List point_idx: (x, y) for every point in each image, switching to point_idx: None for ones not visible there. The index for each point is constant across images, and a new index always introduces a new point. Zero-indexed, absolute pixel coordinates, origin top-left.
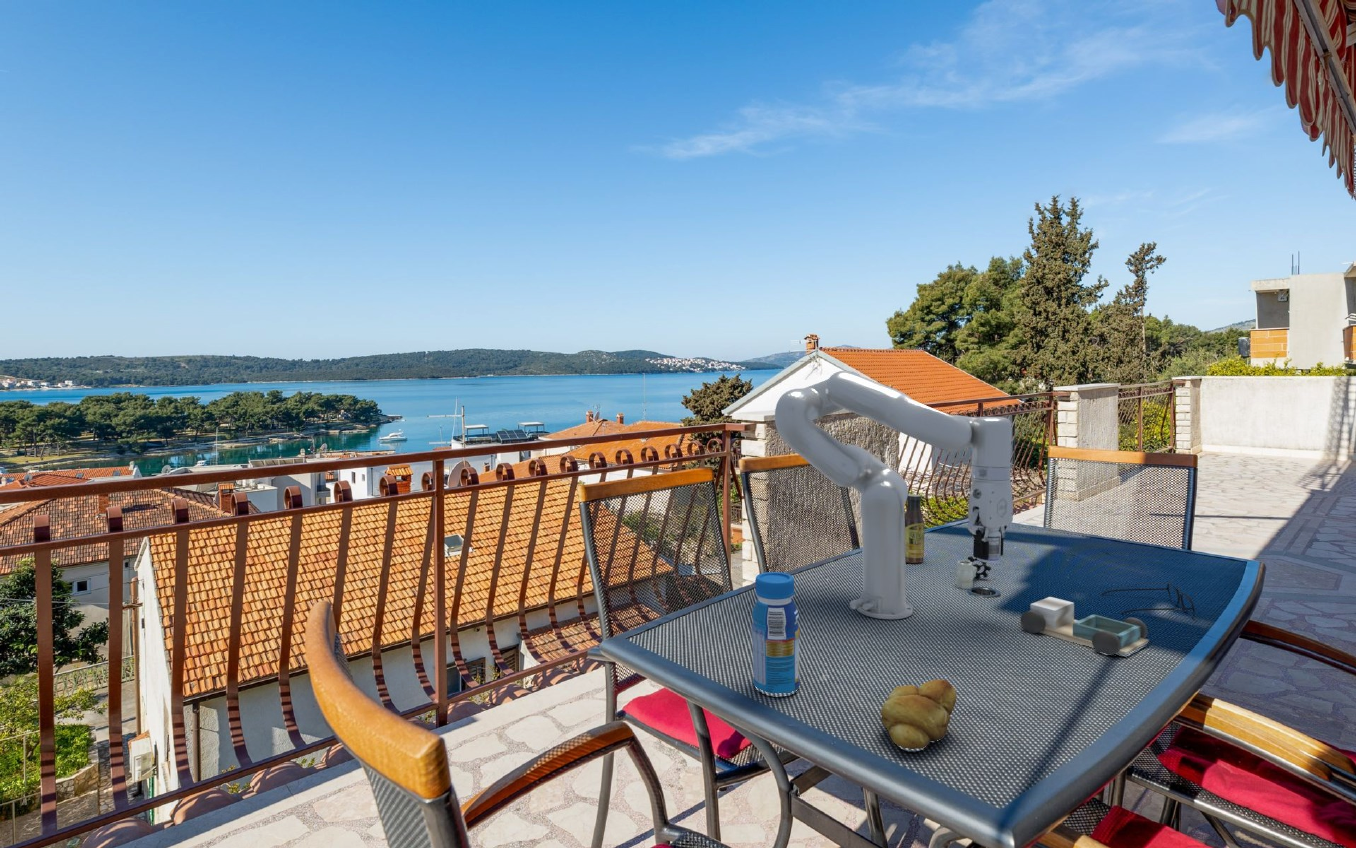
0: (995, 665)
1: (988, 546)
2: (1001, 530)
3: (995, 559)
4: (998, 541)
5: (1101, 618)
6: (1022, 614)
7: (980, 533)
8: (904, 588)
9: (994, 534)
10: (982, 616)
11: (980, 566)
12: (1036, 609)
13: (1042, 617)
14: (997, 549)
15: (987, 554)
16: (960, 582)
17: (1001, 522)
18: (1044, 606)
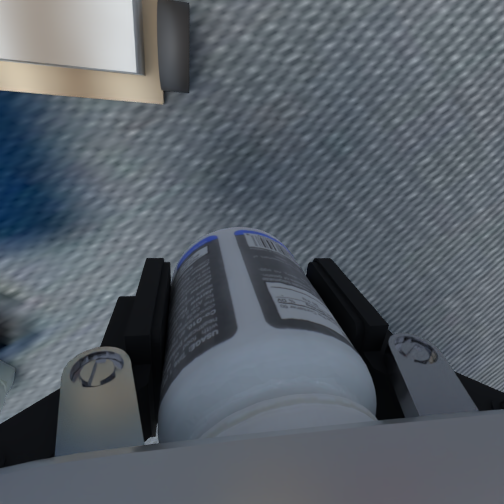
0: (483, 18)
1: (353, 302)
2: (138, 413)
3: (270, 237)
4: (279, 298)
5: None
6: (188, 85)
7: (498, 407)
8: None
9: (345, 361)
10: (174, 222)
11: None
12: (137, 44)
13: (164, 5)
14: (272, 263)
15: (340, 271)
16: (7, 386)
17: (375, 497)
18: (113, 9)
